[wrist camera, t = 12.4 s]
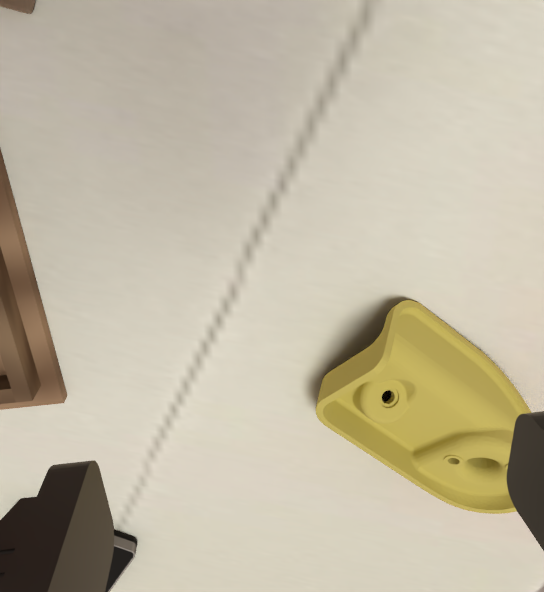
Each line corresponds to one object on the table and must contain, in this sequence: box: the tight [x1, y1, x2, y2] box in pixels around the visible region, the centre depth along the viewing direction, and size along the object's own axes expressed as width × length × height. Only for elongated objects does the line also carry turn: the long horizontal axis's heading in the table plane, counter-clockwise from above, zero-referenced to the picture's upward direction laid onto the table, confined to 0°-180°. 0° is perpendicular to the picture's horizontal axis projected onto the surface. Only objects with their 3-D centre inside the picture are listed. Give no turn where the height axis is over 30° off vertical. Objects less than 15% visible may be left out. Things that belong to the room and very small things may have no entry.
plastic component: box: [316, 300, 531, 514], centre depth 43 cm, size 20×7×10 cm
